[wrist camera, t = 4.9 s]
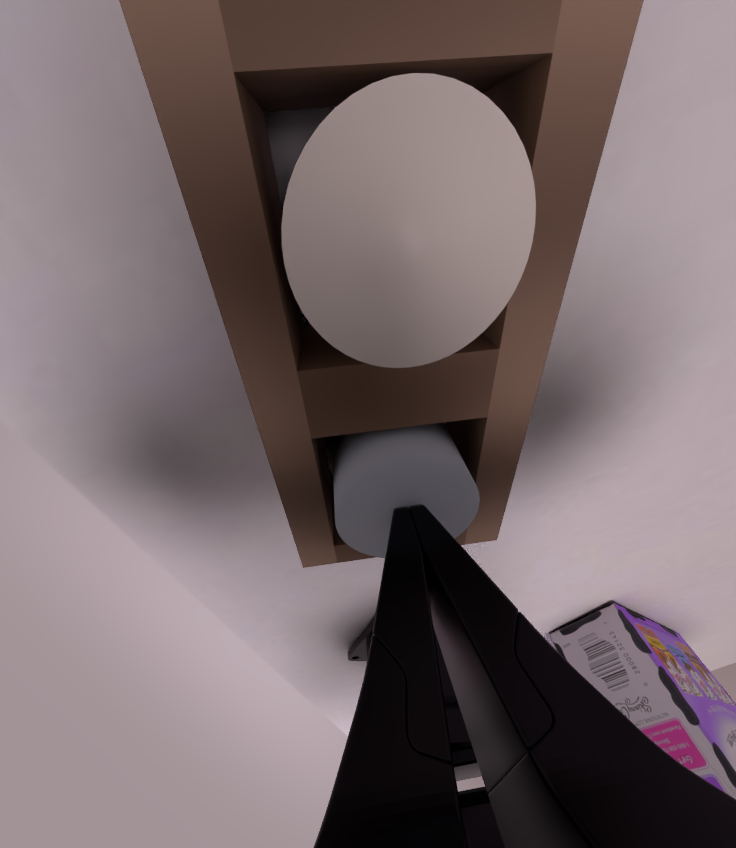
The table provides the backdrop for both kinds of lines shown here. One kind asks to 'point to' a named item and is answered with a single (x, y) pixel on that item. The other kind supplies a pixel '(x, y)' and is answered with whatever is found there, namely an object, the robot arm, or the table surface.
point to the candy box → (657, 688)
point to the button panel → (262, 215)
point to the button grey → (399, 483)
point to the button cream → (408, 220)
